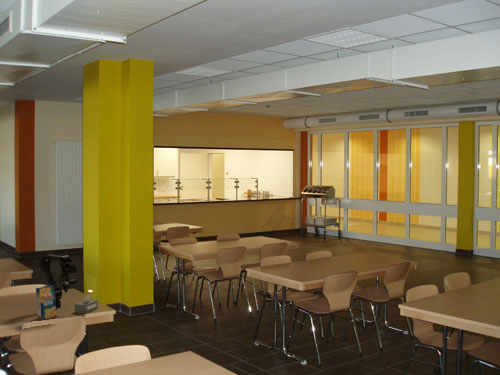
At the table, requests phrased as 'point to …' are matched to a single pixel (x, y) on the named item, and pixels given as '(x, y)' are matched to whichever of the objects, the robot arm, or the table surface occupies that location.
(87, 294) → the breaker lever
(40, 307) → the blue cracker box
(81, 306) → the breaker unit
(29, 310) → the table surface
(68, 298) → the table surface
